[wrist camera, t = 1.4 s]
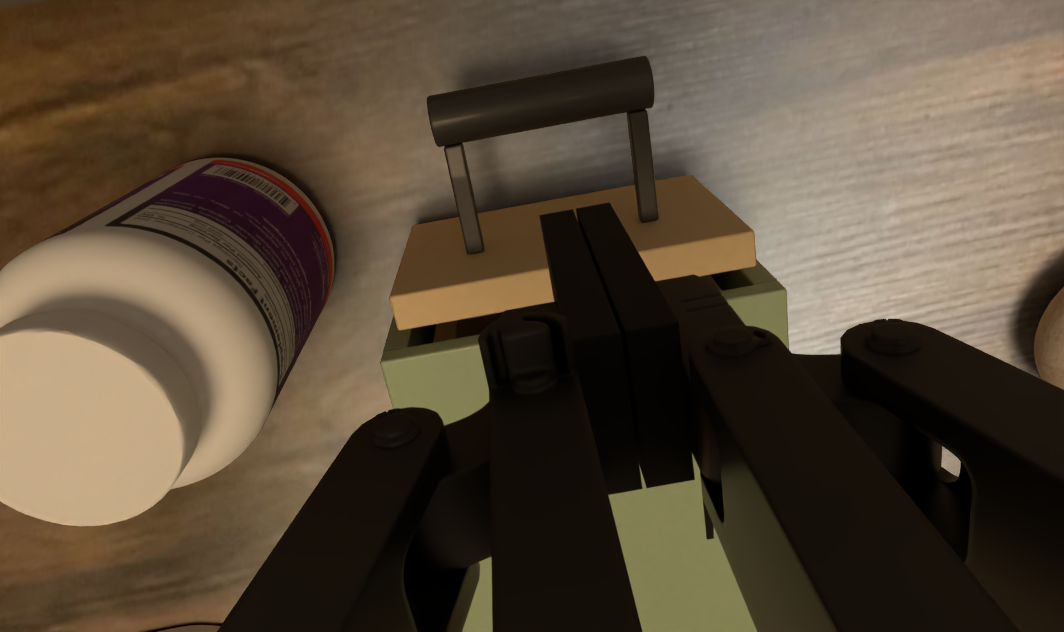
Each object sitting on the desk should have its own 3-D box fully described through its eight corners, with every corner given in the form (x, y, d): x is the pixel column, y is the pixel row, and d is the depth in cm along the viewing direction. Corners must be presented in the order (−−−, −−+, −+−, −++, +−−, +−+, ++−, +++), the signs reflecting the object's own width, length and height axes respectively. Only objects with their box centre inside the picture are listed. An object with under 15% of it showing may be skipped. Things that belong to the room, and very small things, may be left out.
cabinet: (409, 259, 32) (379, 362, 23) (703, 205, 31) (787, 288, 23) (478, 530, 38) (474, 696, 29) (727, 487, 37) (800, 640, 29)
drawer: (379, 90, 28) (341, 124, 21) (679, 34, 28) (745, 49, 21) (478, 494, 36) (476, 621, 28) (716, 453, 35) (773, 569, 28)
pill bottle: (178, 349, 33) (-30, 591, 20) (110, 169, 30) (-194, 312, 16) (361, 320, 33) (275, 542, 20) (312, 136, 30) (170, 252, 16)
